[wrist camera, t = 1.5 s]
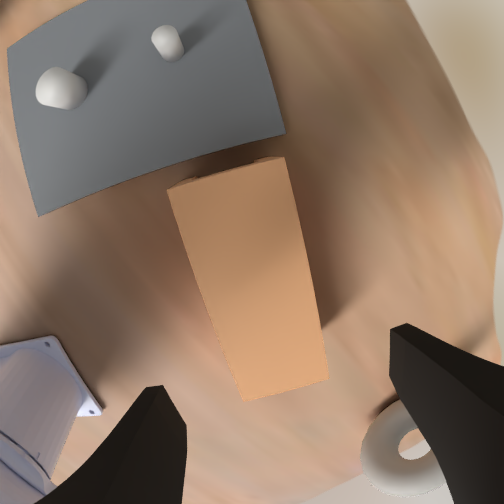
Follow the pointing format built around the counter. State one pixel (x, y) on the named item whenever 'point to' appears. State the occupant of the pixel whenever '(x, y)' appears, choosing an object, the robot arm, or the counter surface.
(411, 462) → the donut
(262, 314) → the rectangular block
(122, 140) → the post board
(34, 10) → the counter surface
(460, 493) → the robot arm
